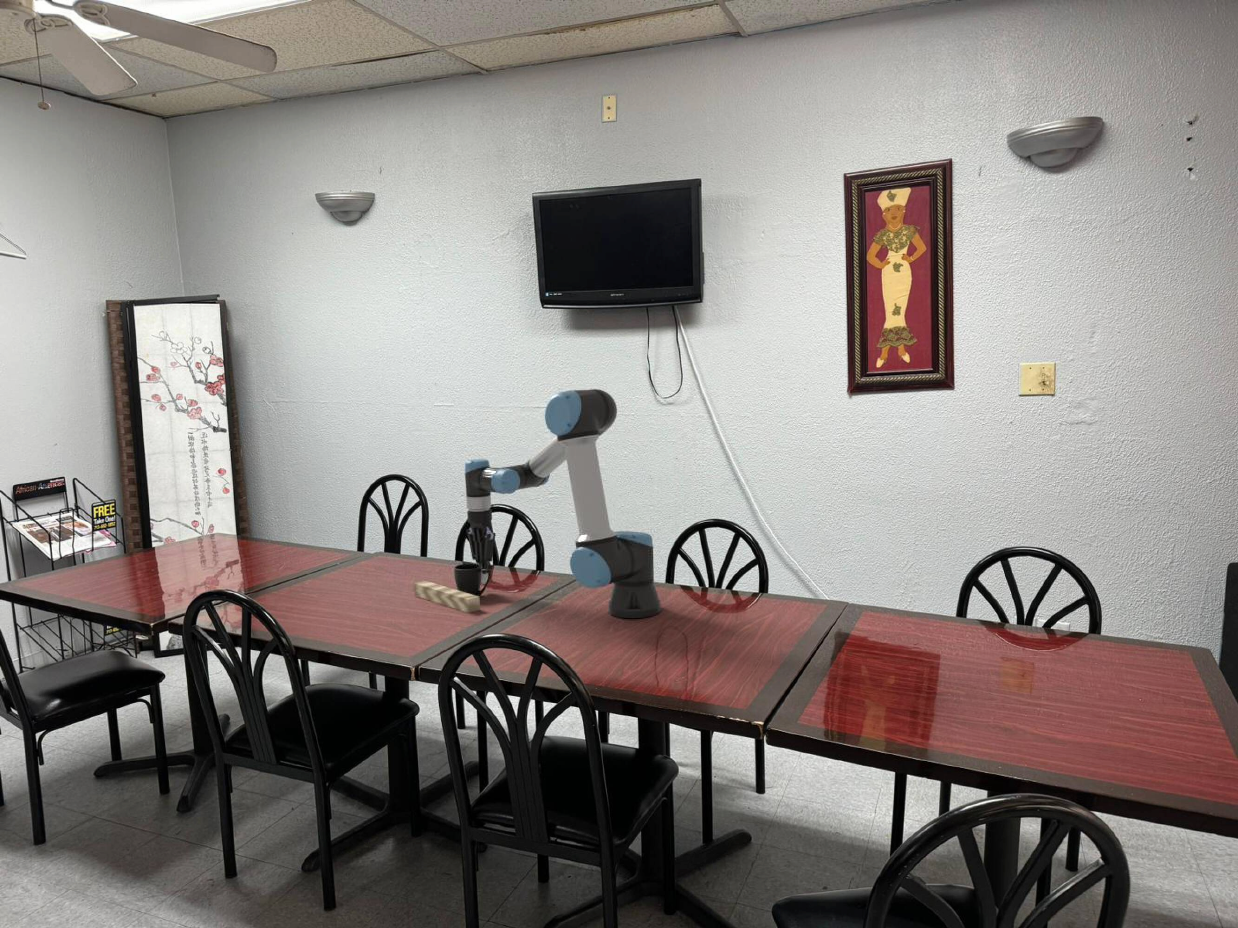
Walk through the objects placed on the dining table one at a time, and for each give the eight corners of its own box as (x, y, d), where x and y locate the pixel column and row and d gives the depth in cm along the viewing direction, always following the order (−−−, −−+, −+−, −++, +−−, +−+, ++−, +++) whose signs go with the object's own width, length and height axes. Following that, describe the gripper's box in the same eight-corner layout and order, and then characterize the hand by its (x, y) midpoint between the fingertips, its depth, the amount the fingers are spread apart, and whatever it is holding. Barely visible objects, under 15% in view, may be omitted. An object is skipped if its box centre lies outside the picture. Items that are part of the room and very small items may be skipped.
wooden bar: (480, 609, 259) (479, 596, 258) (468, 612, 256) (467, 599, 255) (425, 592, 280) (425, 580, 280) (414, 595, 278) (413, 583, 277)
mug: (486, 601, 268) (484, 570, 266) (451, 599, 272) (448, 569, 270) (498, 593, 275) (496, 564, 274) (464, 591, 279) (462, 562, 278)
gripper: (501, 509, 272) (505, 584, 275) (477, 505, 282) (481, 577, 285) (481, 513, 267) (485, 589, 270) (457, 508, 277) (461, 582, 280)
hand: (483, 582), depth 278 cm, fingers closed, pressing on mug
